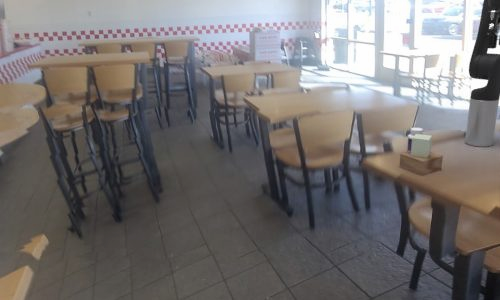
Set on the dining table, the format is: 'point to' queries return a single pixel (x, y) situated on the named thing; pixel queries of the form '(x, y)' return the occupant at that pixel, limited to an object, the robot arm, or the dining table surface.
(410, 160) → the walnut block
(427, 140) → the sage cube
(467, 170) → the dining table surface
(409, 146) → the pill bottle
